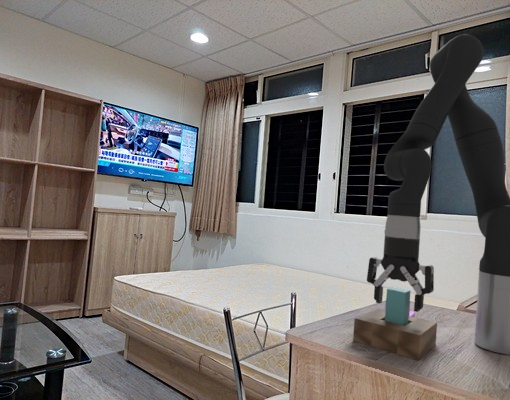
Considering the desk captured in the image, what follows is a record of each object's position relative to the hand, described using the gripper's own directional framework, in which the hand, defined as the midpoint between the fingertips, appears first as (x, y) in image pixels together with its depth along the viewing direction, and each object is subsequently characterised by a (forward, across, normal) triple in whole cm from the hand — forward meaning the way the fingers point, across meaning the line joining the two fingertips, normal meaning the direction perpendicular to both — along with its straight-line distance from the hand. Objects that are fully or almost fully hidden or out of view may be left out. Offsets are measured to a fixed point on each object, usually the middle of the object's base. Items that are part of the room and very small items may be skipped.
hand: (397, 306), depth 85 cm
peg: (+8, 0, 0) cm, 8 cm away
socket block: (+8, 0, 0) cm, 8 cm away
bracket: (+8, +6, -24) cm, 26 cm away
